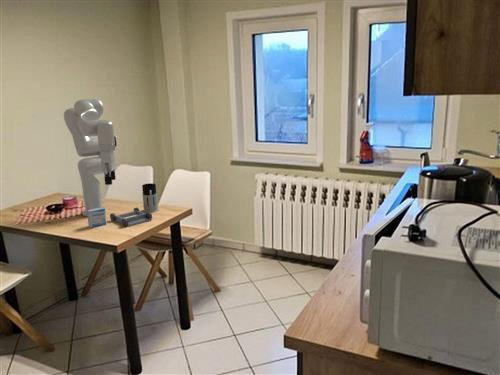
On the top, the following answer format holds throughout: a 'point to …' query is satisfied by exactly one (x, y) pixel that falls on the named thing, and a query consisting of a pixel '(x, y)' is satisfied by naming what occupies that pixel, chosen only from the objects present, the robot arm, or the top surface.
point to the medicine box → (96, 217)
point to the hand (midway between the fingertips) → (110, 182)
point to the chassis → (131, 218)
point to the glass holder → (150, 198)
